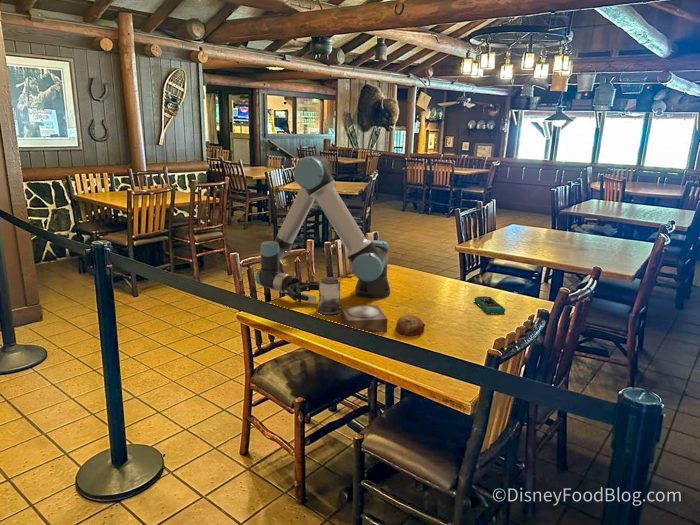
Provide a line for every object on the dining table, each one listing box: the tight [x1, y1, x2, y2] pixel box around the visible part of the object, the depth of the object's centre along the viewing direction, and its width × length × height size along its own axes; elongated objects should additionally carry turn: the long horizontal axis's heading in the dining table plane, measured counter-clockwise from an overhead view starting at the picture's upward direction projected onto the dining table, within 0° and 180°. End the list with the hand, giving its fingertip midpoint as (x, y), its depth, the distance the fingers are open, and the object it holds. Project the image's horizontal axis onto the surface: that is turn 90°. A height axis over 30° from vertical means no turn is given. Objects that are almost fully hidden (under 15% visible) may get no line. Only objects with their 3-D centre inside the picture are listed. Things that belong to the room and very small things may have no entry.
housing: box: [316, 276, 341, 317], centre depth 190 cm, size 9×9×13 cm
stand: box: [339, 304, 388, 334], centre depth 179 cm, size 14×14×5 cm
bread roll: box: [394, 313, 426, 338], centre depth 176 cm, size 10×10×8 cm
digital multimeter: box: [473, 295, 506, 314], centre depth 203 cm, size 7×15×3 cm, turn 9°
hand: (327, 295), depth 191 cm, fingers open, 13 cm apart
